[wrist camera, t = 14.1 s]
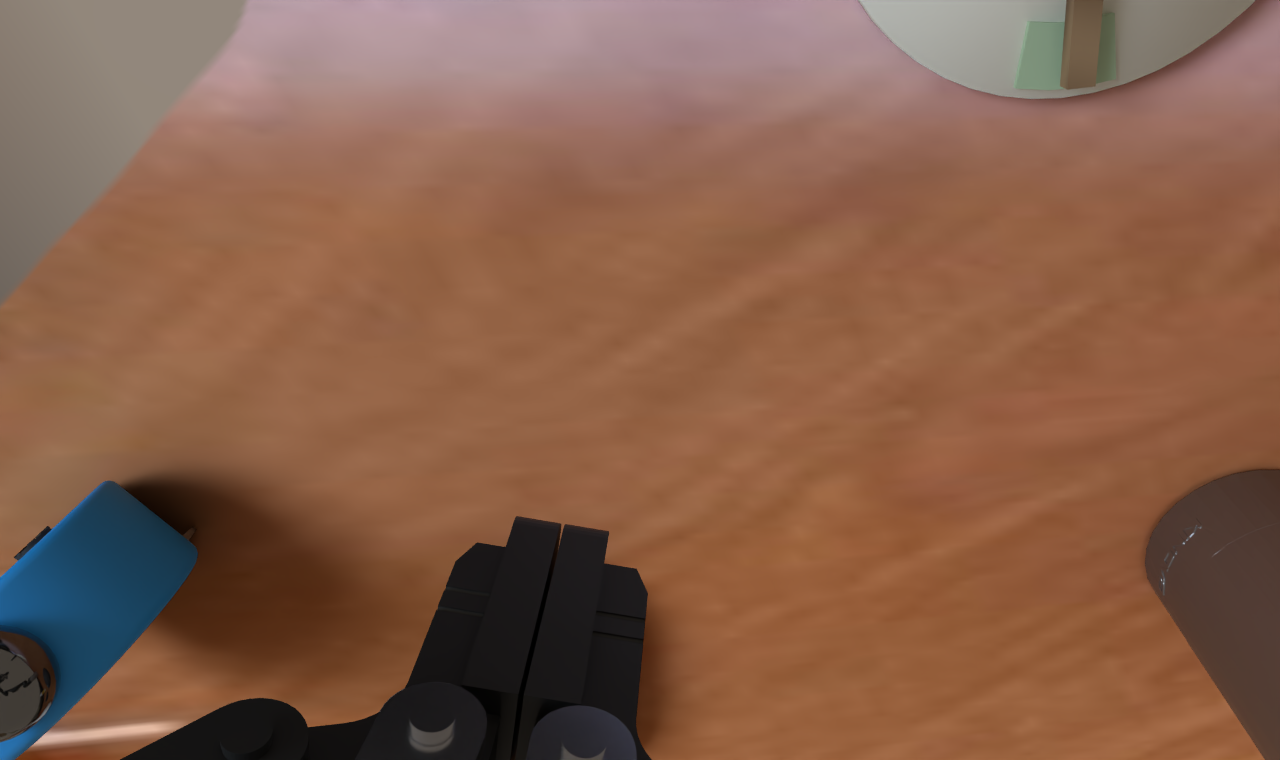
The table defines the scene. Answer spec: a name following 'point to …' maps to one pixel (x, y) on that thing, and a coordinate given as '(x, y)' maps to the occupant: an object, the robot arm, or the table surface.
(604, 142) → the table surface
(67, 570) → the alarm clock
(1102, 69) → the plate
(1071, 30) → the dial
